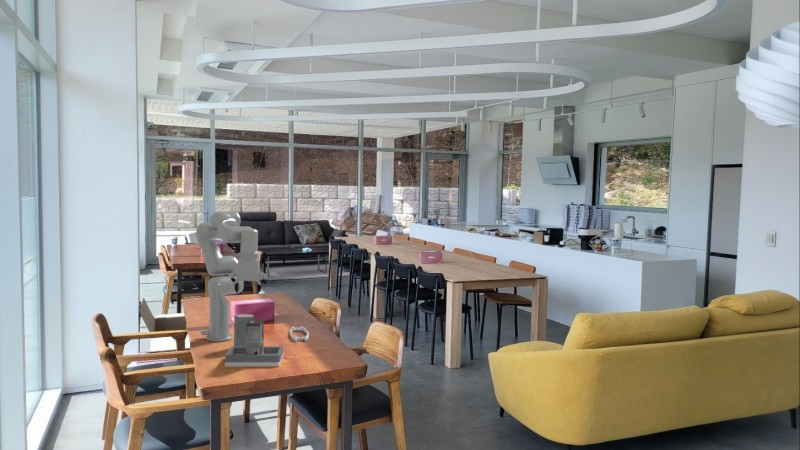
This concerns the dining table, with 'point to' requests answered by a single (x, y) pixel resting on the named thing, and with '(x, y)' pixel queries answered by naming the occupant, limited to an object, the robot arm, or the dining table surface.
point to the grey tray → (253, 357)
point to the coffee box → (255, 337)
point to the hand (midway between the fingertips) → (247, 292)
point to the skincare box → (241, 329)
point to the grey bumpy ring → (299, 337)
